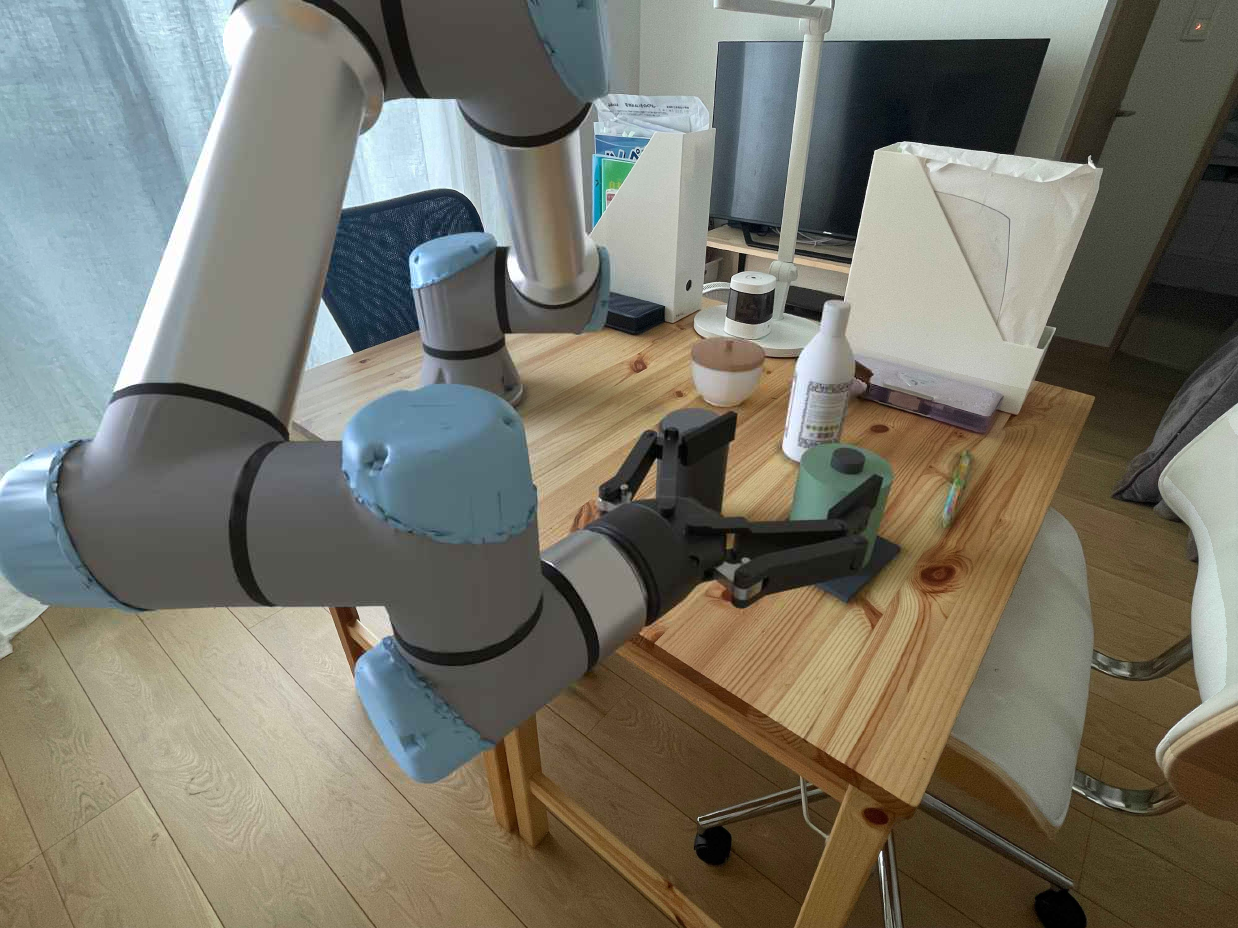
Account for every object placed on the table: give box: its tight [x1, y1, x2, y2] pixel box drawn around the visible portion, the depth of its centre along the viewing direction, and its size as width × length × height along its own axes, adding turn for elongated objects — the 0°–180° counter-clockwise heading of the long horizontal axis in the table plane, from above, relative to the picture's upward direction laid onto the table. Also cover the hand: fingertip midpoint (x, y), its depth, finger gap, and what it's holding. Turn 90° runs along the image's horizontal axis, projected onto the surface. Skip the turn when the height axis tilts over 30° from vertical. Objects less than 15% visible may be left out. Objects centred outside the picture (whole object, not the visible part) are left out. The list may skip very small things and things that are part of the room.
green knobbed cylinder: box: [788, 442, 895, 568], centre depth 63 cm, size 9×9×11 cm
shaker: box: [655, 407, 730, 514], centre depth 66 cm, size 8×8×13 cm
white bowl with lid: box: [690, 336, 766, 408], centre depth 93 cm, size 11×11×9 cm
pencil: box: [941, 449, 974, 529], centre depth 75 cm, size 1×1×18 cm
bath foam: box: [781, 299, 856, 464], centre depth 77 cm, size 7×7×20 cm
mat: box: [784, 516, 902, 604], centre depth 66 cm, size 11×11×1 cm
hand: (798, 455), depth 52 cm, fingers open, 13 cm apart
